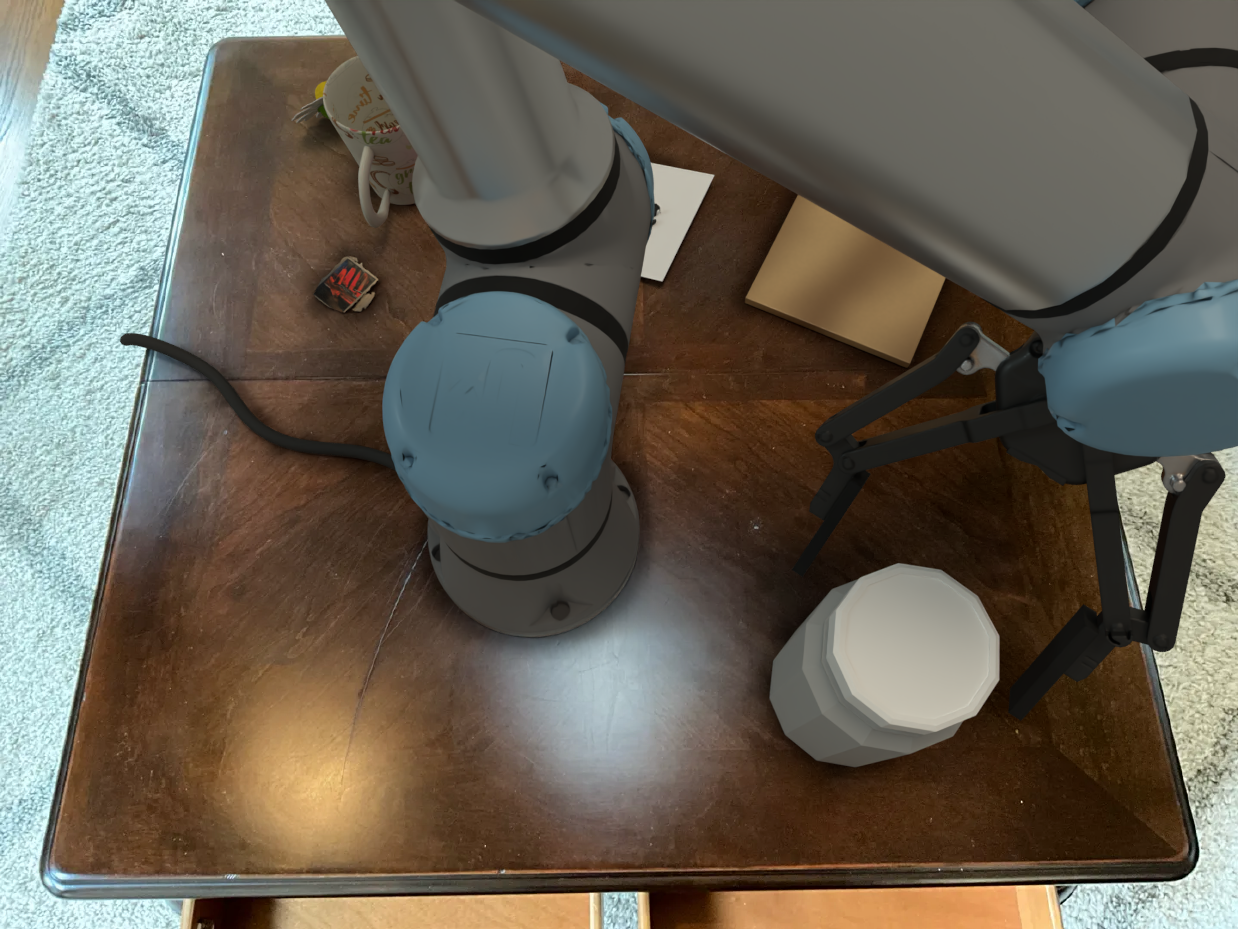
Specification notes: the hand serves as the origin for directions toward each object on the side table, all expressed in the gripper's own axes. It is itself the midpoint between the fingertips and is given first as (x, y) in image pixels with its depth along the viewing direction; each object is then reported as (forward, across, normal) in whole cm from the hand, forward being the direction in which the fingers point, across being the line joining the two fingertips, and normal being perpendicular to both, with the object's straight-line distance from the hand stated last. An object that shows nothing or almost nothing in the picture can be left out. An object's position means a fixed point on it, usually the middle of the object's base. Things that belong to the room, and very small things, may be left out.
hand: (905, 633), depth 50 cm
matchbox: (+7, +50, -10) cm, 51 cm away
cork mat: (-12, +16, -28) cm, 35 cm away
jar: (+10, 0, -7) cm, 12 cm away
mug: (0, +52, -17) cm, 55 cm away
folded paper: (-7, +36, -24) cm, 44 cm away
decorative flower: (-5, +58, -18) cm, 61 cm away
